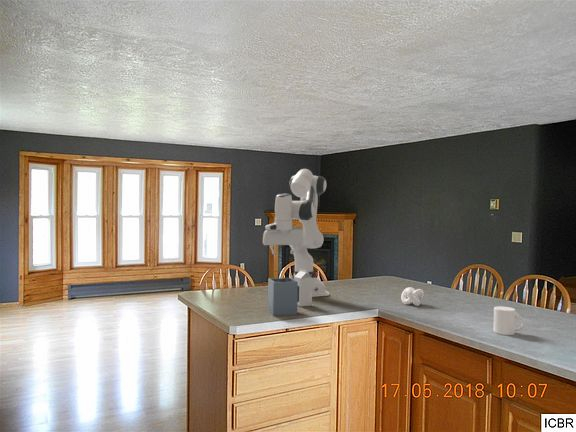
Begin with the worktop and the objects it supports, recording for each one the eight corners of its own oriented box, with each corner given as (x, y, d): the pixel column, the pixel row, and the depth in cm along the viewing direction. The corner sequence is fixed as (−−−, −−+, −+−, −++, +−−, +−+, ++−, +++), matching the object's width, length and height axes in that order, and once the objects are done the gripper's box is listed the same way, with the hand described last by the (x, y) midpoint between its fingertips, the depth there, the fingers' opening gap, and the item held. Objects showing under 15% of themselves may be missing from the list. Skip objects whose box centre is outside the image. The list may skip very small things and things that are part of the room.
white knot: (416, 301, 251) (416, 286, 250) (429, 306, 239) (429, 289, 239) (398, 303, 247) (398, 286, 247) (410, 307, 236) (411, 290, 236)
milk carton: (300, 306, 233) (300, 270, 233) (293, 304, 240) (294, 269, 239) (311, 305, 237) (312, 270, 236) (305, 303, 243) (305, 268, 243)
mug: (491, 305, 194) (521, 307, 191) (491, 329, 194) (521, 331, 191) (496, 309, 186) (527, 311, 183) (495, 334, 186) (527, 336, 183)
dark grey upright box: (295, 308, 229) (295, 277, 228) (301, 314, 217) (302, 281, 217) (267, 310, 225) (268, 278, 225) (273, 315, 213) (273, 282, 213)
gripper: (301, 226, 226) (301, 253, 226) (262, 225, 220) (261, 253, 221) (305, 226, 220) (304, 254, 220) (264, 226, 214) (264, 255, 214)
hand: (283, 254), depth 220 cm, fingers open, 8 cm apart
